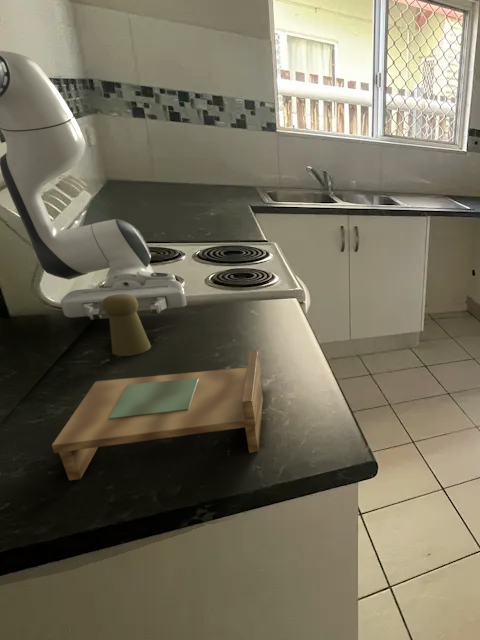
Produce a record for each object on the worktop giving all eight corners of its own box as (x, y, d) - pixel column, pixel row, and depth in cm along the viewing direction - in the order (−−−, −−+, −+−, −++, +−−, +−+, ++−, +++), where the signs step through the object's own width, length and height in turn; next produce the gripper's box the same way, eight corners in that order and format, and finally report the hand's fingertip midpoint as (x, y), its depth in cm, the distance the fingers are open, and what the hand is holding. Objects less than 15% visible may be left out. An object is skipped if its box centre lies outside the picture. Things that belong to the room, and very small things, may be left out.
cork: (115, 344, 93) (101, 291, 89) (153, 340, 96) (140, 289, 91) (109, 357, 88) (93, 302, 84) (148, 353, 91) (135, 300, 87)
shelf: (65, 483, 60) (43, 424, 56) (105, 414, 73) (90, 363, 69) (259, 453, 68) (251, 400, 65) (264, 396, 82) (258, 350, 78)
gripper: (62, 280, 97) (49, 303, 86) (182, 273, 107) (183, 292, 97) (70, 309, 99) (59, 335, 89) (187, 299, 110) (189, 321, 100)
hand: (125, 312), depth 93 cm, fingers open, 8 cm apart
